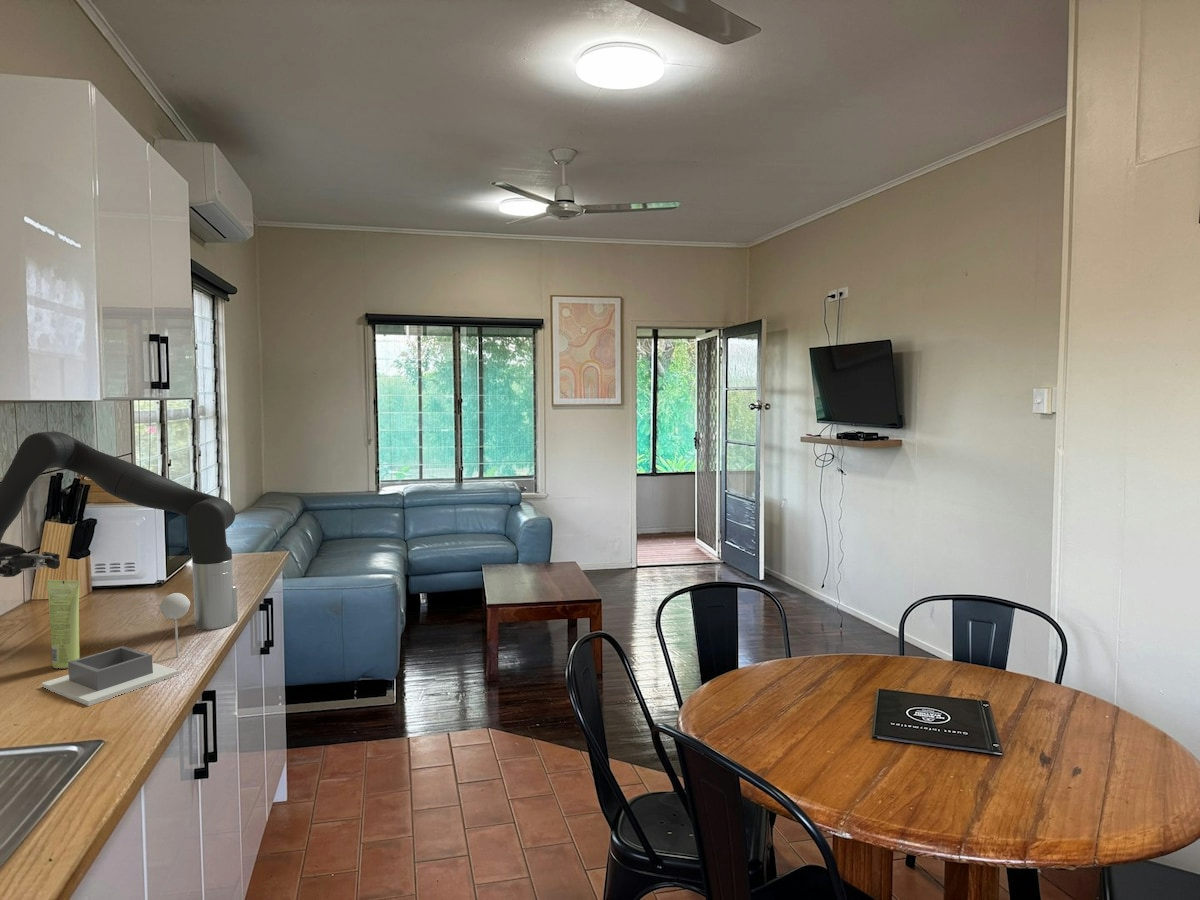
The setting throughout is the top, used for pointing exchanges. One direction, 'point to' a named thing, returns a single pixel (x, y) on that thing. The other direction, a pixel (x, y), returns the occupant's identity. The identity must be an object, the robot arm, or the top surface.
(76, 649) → the tube
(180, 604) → the lollipop
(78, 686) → the socket
